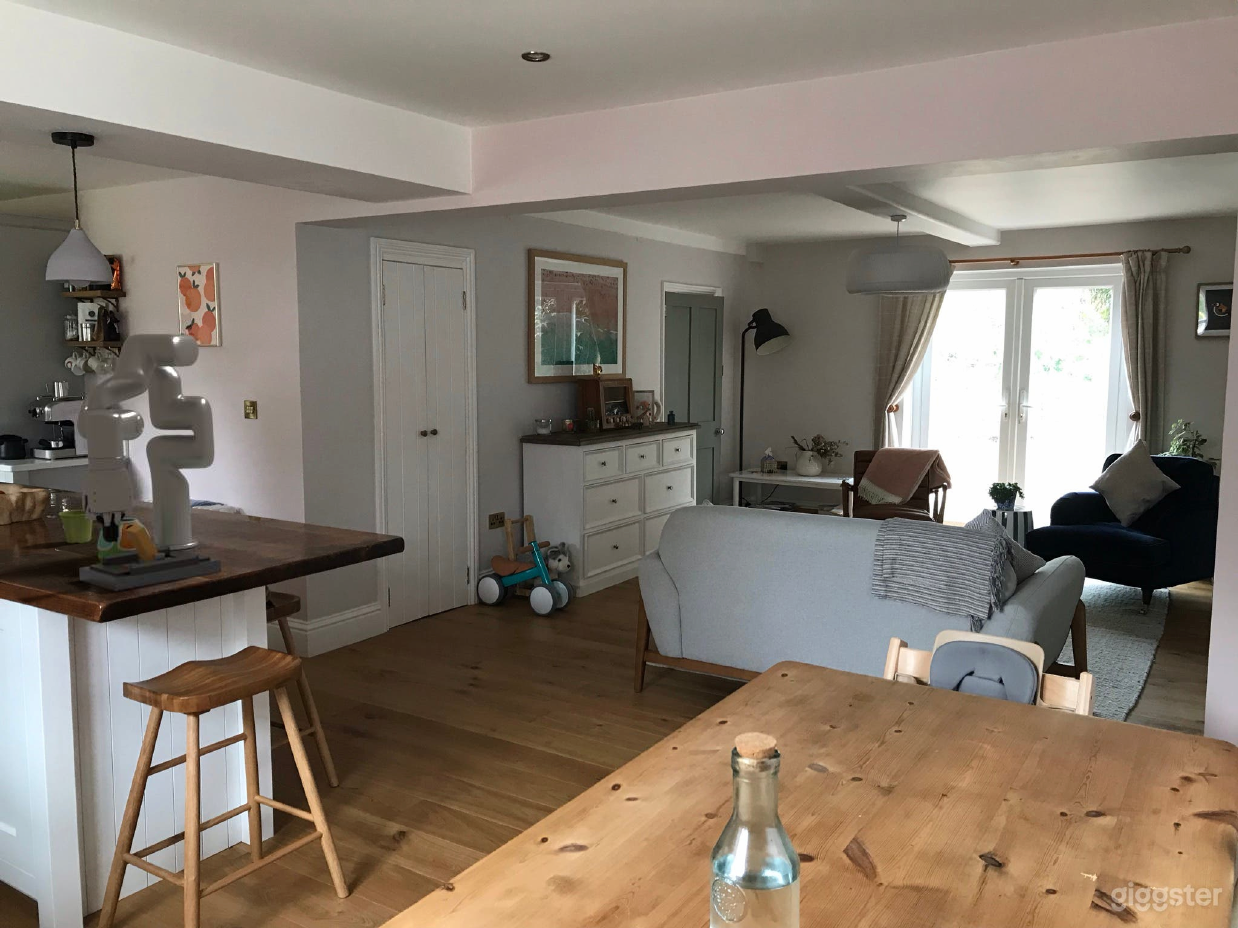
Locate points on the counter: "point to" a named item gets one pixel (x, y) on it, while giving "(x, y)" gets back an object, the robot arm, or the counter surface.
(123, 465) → the robot arm
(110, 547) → the turtle holder
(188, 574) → the grey base plate
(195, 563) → the stepped grey platform
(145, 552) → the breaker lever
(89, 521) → the plant pot
